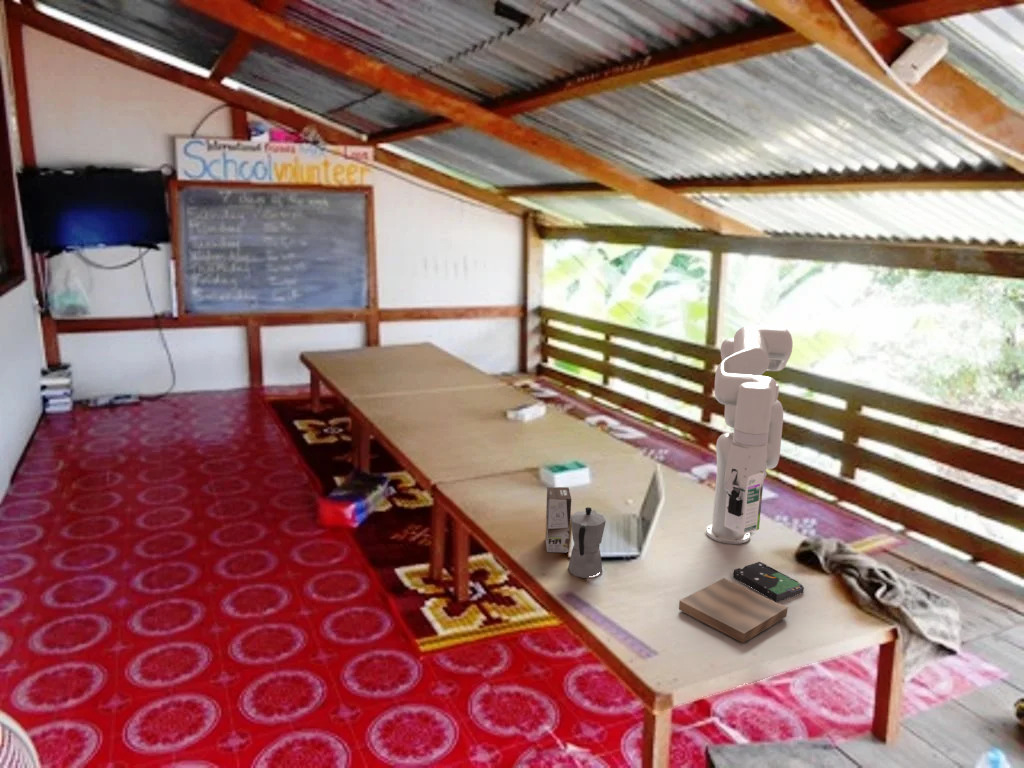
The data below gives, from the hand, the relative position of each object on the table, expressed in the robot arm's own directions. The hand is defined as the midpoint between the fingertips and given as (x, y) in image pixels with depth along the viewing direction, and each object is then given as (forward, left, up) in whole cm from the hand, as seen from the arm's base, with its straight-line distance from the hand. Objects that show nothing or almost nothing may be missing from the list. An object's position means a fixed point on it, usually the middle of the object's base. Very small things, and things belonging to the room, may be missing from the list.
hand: (742, 510), depth 179 cm
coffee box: (+8, -53, -27) cm, 60 cm away
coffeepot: (+13, -37, -27) cm, 48 cm away
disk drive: (-20, -3, -28) cm, 35 cm away
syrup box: (0, 0, -5) cm, 5 cm away
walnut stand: (0, 0, -27) cm, 27 cm away
